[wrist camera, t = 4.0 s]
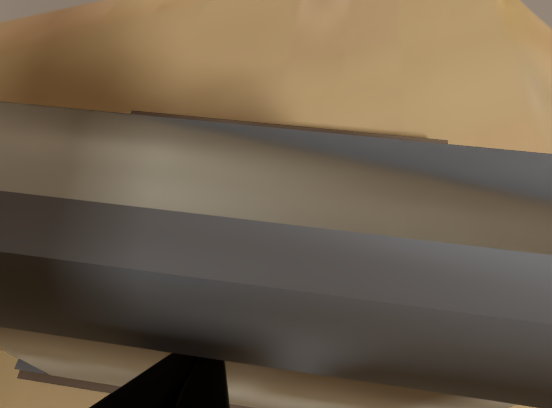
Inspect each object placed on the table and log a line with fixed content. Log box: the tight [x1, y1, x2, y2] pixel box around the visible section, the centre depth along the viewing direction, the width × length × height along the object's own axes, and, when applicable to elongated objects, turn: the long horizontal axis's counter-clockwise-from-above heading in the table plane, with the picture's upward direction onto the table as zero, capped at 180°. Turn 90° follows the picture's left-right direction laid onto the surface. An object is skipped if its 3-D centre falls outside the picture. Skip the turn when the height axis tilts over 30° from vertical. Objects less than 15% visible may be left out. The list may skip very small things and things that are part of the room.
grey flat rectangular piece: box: [0, 102, 552, 408], centre depth 9 cm, size 12×14×2 cm
